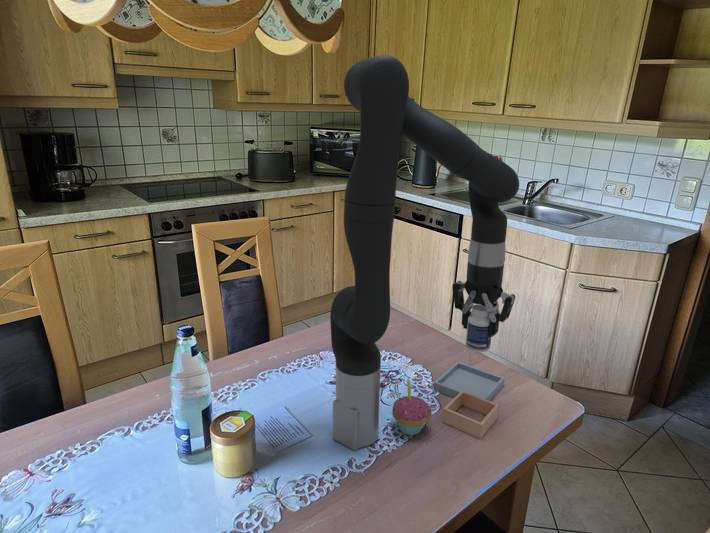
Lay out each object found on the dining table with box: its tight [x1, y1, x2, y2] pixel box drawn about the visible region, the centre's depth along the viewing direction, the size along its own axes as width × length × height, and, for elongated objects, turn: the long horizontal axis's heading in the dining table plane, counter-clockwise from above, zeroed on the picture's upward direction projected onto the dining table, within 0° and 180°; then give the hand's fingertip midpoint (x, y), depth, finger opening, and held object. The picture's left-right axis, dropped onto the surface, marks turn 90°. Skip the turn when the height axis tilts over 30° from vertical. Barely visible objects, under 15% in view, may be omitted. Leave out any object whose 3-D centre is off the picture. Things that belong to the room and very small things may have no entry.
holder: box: [442, 391, 500, 440], centre depth 109 cm, size 9×9×4 cm
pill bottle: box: [465, 304, 492, 353], centre depth 108 cm, size 5×5×10 cm
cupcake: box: [391, 376, 432, 436], centre depth 105 cm, size 9×8×12 cm
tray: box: [433, 361, 505, 402], centre depth 122 cm, size 13×13×2 cm
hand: (479, 331), depth 108 cm, fingers closed on pill bottle, 5 cm apart
